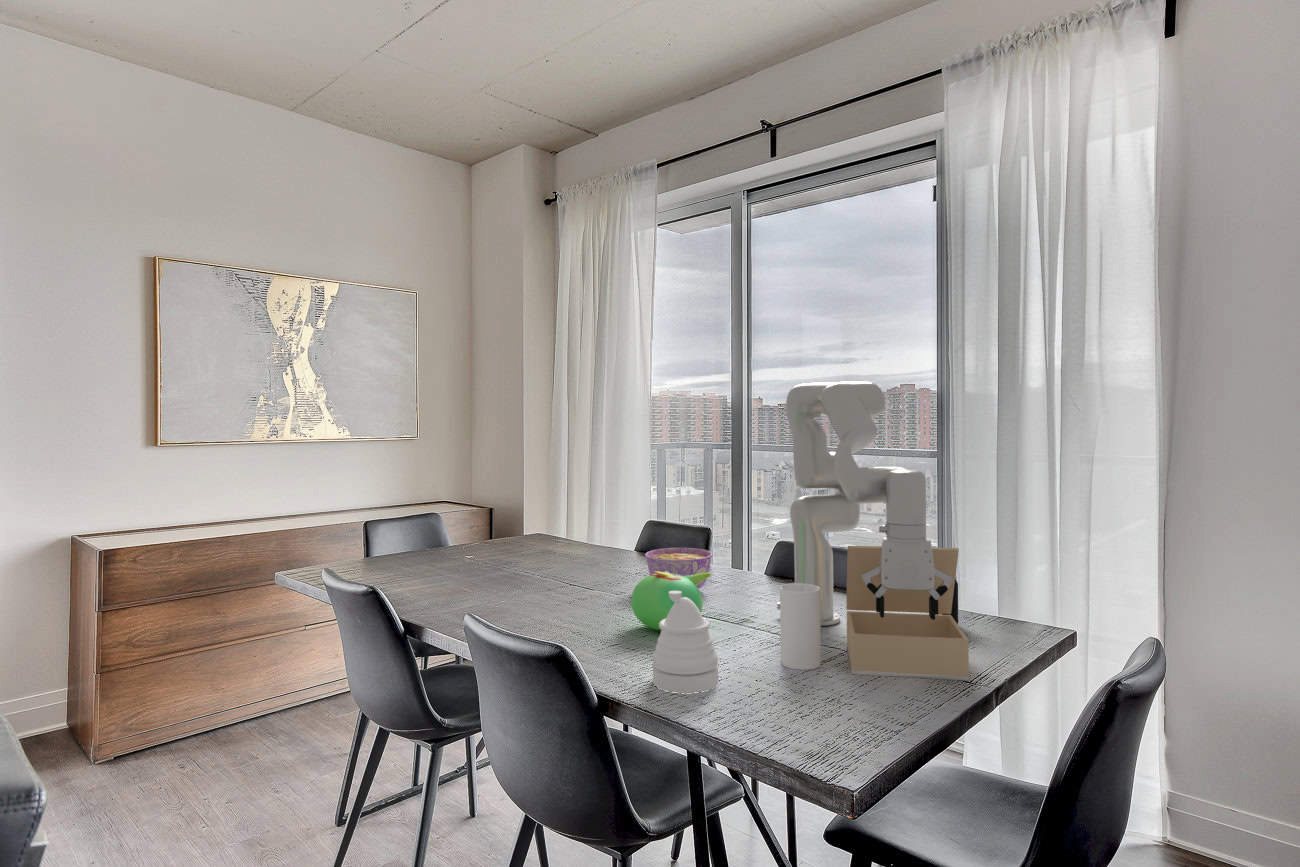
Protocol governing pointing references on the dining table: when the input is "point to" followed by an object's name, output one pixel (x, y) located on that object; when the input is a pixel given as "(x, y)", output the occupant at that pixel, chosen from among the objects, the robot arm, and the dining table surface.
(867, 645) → the mailer box
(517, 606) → the dining table surface
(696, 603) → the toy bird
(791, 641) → the cup
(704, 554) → the bowl of food
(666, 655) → the honey pot
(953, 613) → the beverage can
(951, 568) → the lid
